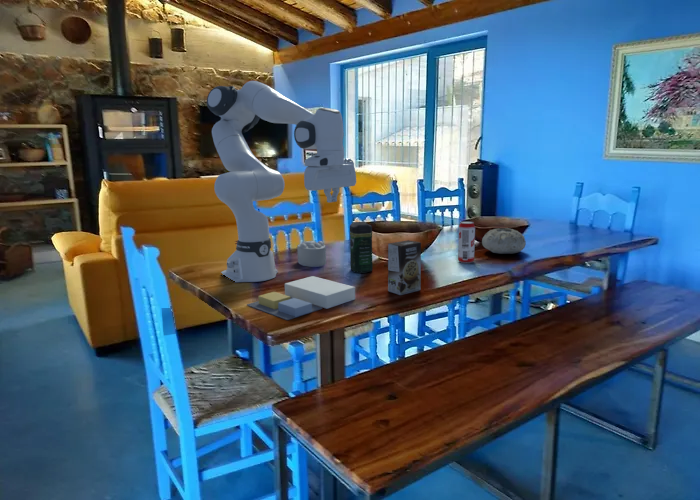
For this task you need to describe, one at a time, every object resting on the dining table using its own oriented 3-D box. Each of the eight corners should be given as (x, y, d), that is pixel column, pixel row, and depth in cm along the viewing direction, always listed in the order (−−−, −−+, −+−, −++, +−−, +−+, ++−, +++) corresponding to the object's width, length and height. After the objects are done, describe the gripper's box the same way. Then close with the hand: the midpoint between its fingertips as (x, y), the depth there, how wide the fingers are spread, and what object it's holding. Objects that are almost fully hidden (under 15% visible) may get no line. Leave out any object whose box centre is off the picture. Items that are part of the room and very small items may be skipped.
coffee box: (400, 295, 162) (400, 246, 159) (387, 291, 167) (387, 243, 164) (421, 290, 167) (421, 242, 164) (408, 286, 172) (408, 239, 169)
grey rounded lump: (530, 257, 208) (532, 233, 206) (486, 258, 209) (487, 233, 207) (517, 248, 226) (519, 225, 224) (477, 248, 226) (478, 226, 224)
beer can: (457, 263, 201) (458, 223, 198) (458, 259, 207) (459, 220, 203) (473, 264, 199) (474, 223, 196) (474, 260, 205) (475, 221, 202)
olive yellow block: (274, 291, 160) (274, 299, 161) (258, 295, 156) (258, 303, 157) (290, 296, 155) (290, 304, 155) (274, 301, 151) (274, 309, 151)
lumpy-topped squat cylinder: (318, 258, 216) (317, 238, 214) (331, 264, 204) (330, 243, 202) (295, 261, 211) (294, 241, 209) (307, 268, 200) (306, 246, 198)
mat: (246, 305, 156) (246, 304, 156) (280, 295, 165) (280, 294, 165) (287, 320, 143) (287, 319, 142) (322, 308, 151) (322, 307, 151)
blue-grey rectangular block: (294, 297, 153) (294, 305, 154) (278, 302, 149) (278, 310, 150) (311, 303, 148) (312, 311, 148) (295, 308, 144) (296, 316, 144)
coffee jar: (375, 272, 191) (374, 223, 187) (354, 274, 189) (353, 224, 185) (368, 266, 200) (367, 219, 196) (348, 268, 198) (347, 220, 194)
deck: (285, 295, 165) (284, 283, 164) (313, 287, 174) (312, 276, 173) (326, 308, 151) (326, 295, 151) (355, 299, 160) (354, 286, 159)
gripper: (346, 157, 175) (347, 198, 178) (300, 160, 161) (302, 204, 164) (360, 158, 171) (360, 199, 174) (313, 161, 157) (315, 206, 160)
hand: (332, 202), depth 169 cm, fingers closed
